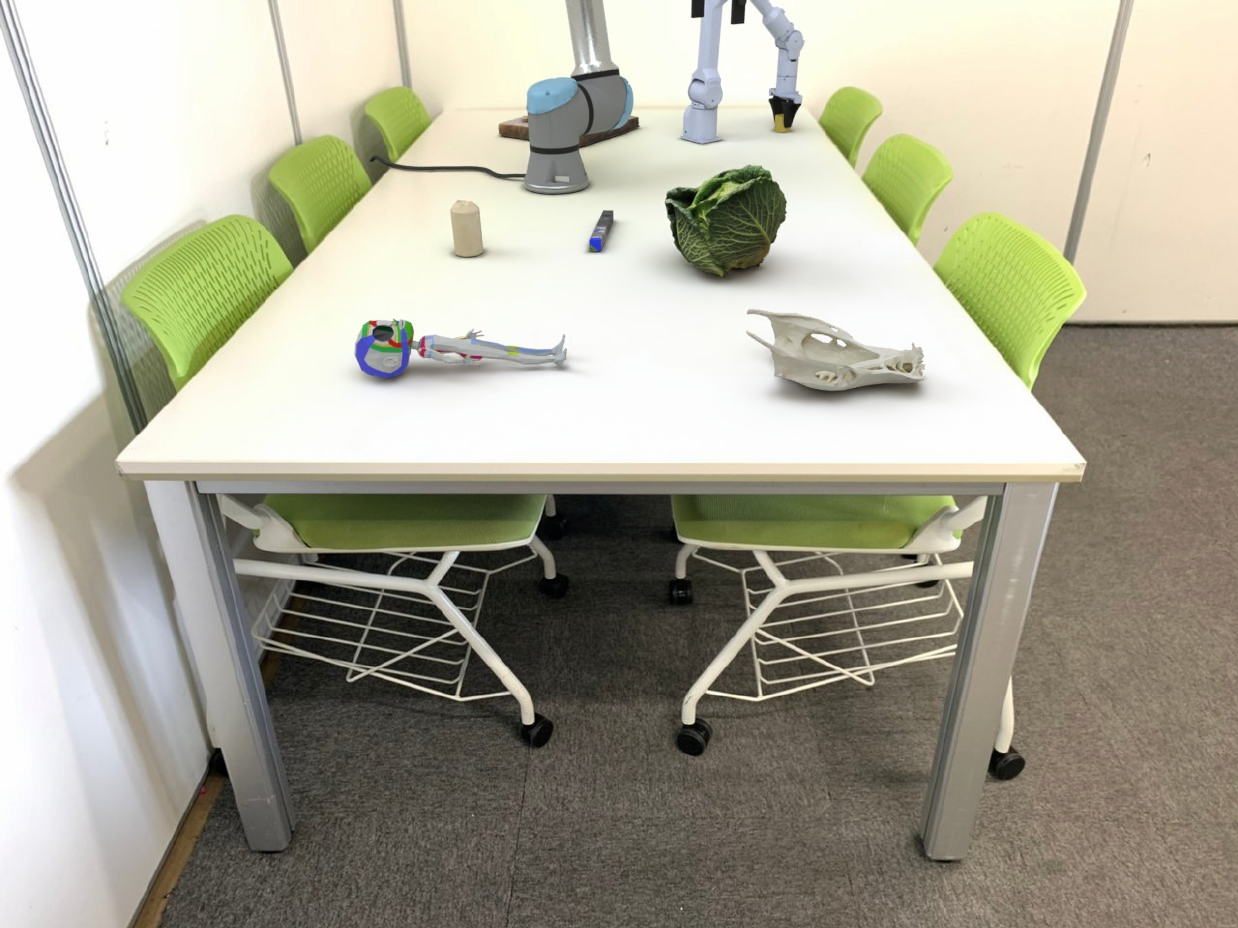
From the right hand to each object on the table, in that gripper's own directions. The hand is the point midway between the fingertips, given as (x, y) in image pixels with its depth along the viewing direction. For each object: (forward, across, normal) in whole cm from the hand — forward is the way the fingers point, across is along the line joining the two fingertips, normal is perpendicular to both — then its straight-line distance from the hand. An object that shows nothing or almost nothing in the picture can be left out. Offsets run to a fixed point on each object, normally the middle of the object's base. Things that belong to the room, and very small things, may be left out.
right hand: (782, 125), depth 261 cm
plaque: (+1, +26, +56) cm, 62 cm away
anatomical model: (+1, -140, +80) cm, 161 cm away
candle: (+1, -64, +112) cm, 129 cm away
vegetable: (+1, -94, +72) cm, 118 cm away
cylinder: (+1, 0, 0) cm, 1 cm away
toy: (+1, -114, +126) cm, 170 cm away
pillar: (+1, -66, +85) cm, 108 cm away
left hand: (-36, -60, +56) cm, 90 cm away
